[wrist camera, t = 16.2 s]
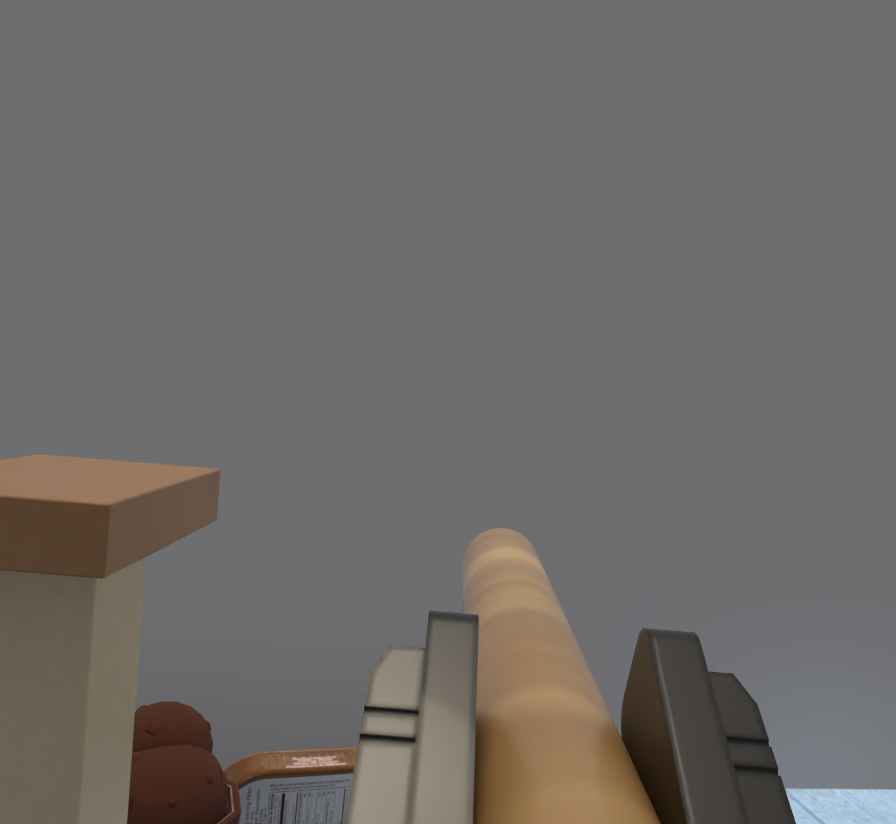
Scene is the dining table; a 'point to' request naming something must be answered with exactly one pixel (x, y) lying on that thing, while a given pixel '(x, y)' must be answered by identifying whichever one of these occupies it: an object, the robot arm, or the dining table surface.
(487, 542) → the wooden rod
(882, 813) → the dining table surface
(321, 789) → the tin
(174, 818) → the ice cream bowl
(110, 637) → the stand
